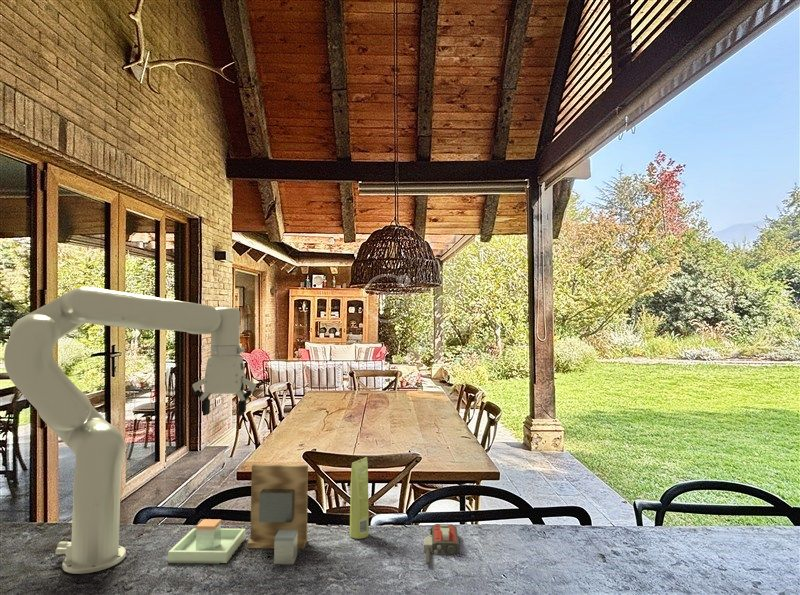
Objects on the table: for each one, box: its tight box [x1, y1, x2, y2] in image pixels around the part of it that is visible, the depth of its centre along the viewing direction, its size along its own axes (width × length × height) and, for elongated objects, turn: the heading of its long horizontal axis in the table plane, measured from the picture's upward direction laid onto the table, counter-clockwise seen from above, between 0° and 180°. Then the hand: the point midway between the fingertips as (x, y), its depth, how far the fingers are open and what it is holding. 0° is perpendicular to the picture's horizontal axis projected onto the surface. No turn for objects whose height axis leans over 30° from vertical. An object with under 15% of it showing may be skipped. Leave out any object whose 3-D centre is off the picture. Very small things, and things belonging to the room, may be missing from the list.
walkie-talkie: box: [423, 523, 461, 566], centre depth 124 cm, size 9×4×20 cm
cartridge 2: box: [273, 530, 298, 565], centre depth 118 cm, size 4×4×6 cm
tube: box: [349, 456, 370, 540], centre depth 132 cm, size 6×5×20 cm
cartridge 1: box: [195, 518, 222, 551], centre depth 123 cm, size 4×4×6 cm
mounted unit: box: [246, 464, 309, 550], centre depth 126 cm, size 14×5×19 cm, turn 89°
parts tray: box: [167, 527, 247, 564], centre depth 123 cm, size 14×14×2 cm
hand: (223, 414), depth 138 cm, fingers open, 9 cm apart
